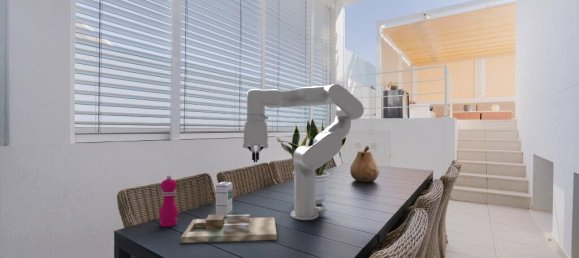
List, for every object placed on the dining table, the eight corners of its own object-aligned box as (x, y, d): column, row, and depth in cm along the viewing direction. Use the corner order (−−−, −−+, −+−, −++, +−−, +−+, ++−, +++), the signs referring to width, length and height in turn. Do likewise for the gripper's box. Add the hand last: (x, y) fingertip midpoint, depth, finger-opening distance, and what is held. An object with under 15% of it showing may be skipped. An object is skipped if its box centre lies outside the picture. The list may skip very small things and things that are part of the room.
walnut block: (224, 223, 111) (224, 214, 111) (222, 228, 105) (222, 219, 105) (208, 223, 110) (208, 214, 110) (205, 229, 104) (205, 219, 104)
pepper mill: (162, 221, 118) (163, 173, 118) (180, 220, 119) (180, 173, 118) (156, 227, 111) (156, 176, 111) (175, 227, 112) (175, 176, 111)
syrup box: (227, 217, 124) (228, 184, 123) (215, 216, 125) (215, 183, 124) (232, 213, 129) (233, 182, 129) (221, 212, 130) (221, 181, 130)
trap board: (274, 222, 118) (274, 211, 118) (276, 239, 100) (276, 227, 100) (193, 224, 115) (193, 213, 115) (180, 242, 97) (180, 229, 97)
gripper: (273, 119, 124) (272, 160, 124) (238, 118, 123) (238, 160, 123) (273, 118, 117) (273, 162, 117) (237, 118, 115) (237, 163, 115)
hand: (255, 161), depth 120 cm, fingers closed
